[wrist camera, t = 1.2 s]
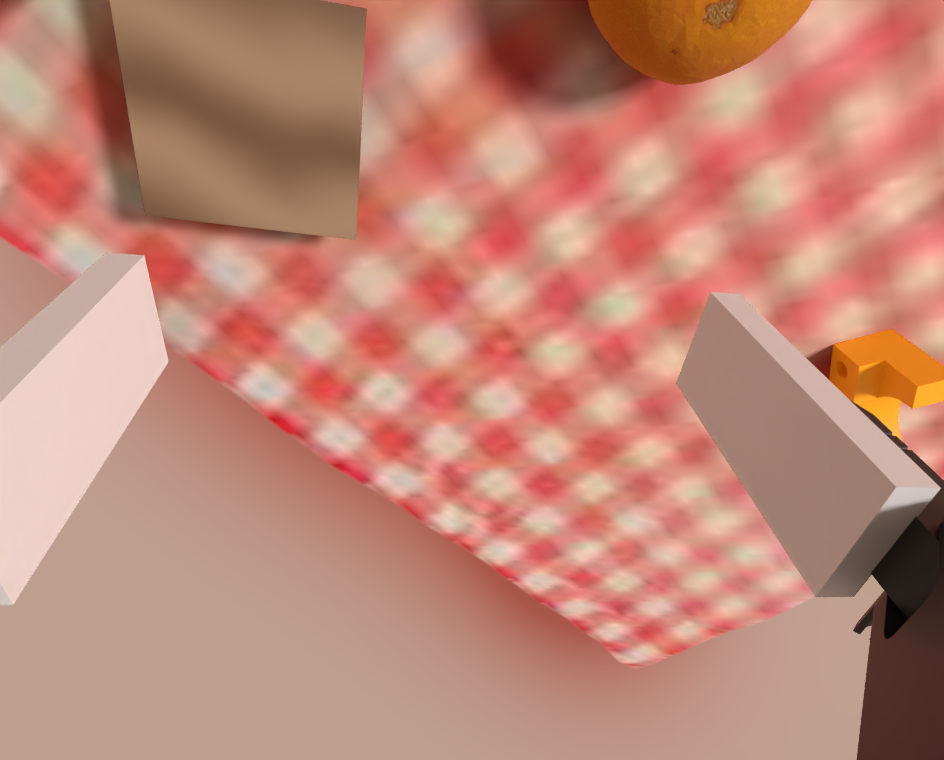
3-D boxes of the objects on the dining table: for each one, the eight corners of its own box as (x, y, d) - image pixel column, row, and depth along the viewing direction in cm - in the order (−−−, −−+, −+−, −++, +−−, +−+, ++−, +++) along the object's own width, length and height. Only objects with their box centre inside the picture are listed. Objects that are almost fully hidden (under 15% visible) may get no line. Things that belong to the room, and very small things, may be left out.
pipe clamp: (831, 343, 43) (890, 393, 38) (890, 327, 43) (958, 376, 37) (817, 454, 50) (865, 510, 45) (868, 442, 50) (922, 497, 44)
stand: (131, -37, 27) (102, -39, 24) (369, 6, 28) (365, 9, 26) (165, 197, 33) (145, 215, 30) (359, 221, 35) (355, 239, 32)
